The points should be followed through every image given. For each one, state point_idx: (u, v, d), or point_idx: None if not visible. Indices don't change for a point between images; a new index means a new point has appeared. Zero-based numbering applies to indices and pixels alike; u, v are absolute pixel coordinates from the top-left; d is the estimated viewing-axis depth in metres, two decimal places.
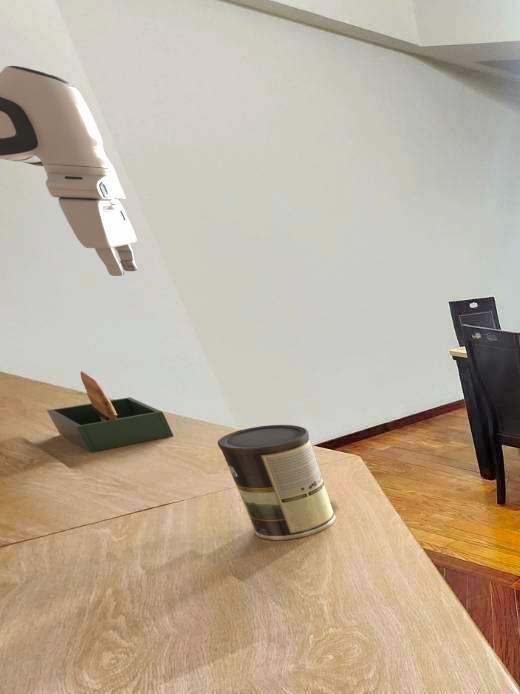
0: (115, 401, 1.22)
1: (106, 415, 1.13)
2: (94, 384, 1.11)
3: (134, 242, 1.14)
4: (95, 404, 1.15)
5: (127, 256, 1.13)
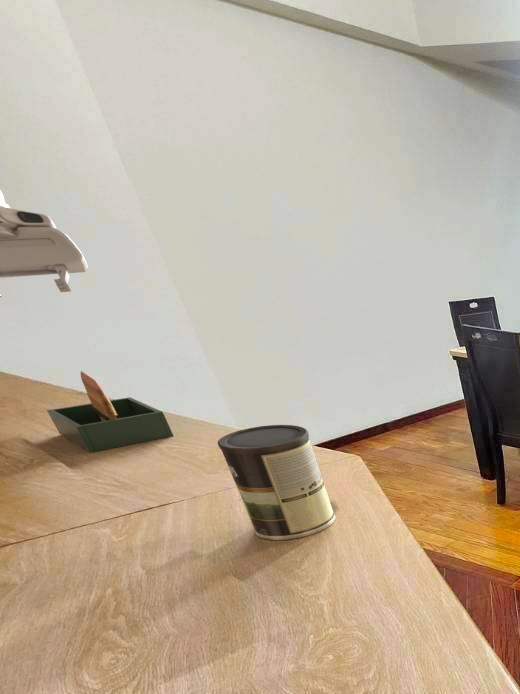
0: (115, 401, 1.22)
1: (106, 415, 1.13)
2: (94, 384, 1.11)
3: None
4: (95, 404, 1.15)
5: None
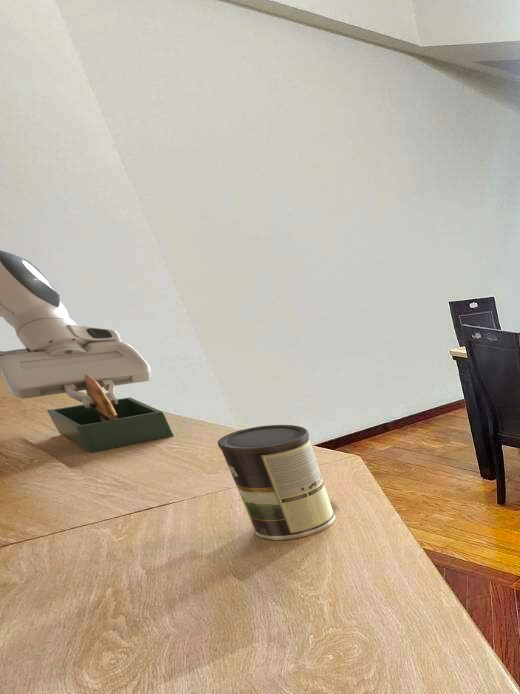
0: None
1: (106, 415, 1.13)
2: (94, 384, 1.11)
3: (37, 396, 1.11)
4: None
5: None
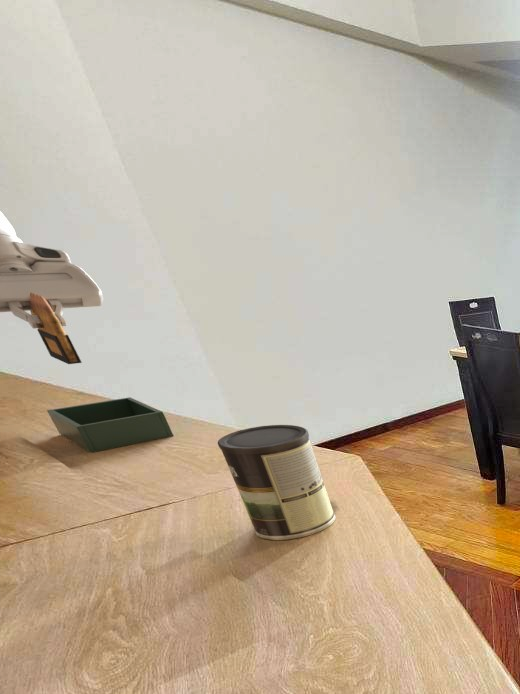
0: (115, 401, 1.22)
1: (55, 334, 1.10)
2: (41, 301, 1.07)
3: None
4: None
5: None
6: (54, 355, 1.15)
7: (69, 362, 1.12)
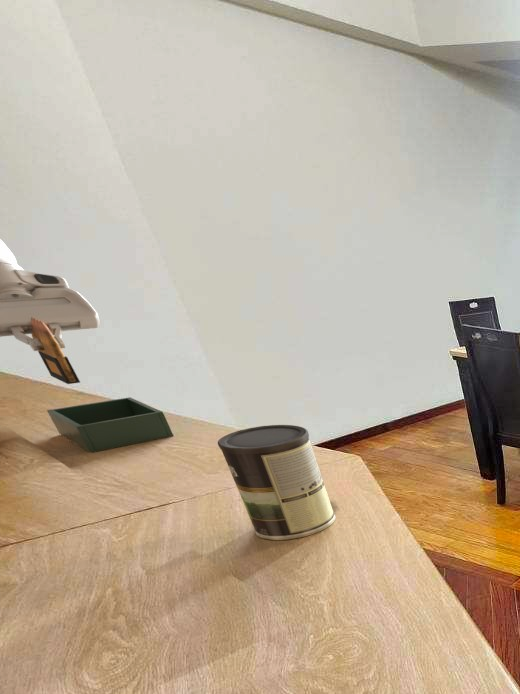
0: (115, 401, 1.22)
1: (54, 357, 1.17)
2: (41, 325, 1.15)
3: None
4: None
5: None
6: (54, 375, 1.22)
7: (68, 382, 1.19)
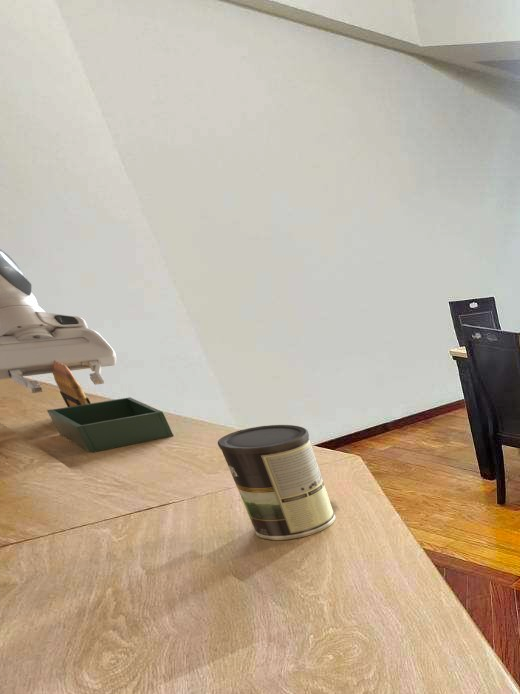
0: (115, 401, 1.22)
1: (76, 398, 1.21)
2: (64, 369, 1.19)
3: None
4: (64, 388, 1.23)
5: None
6: None
7: None
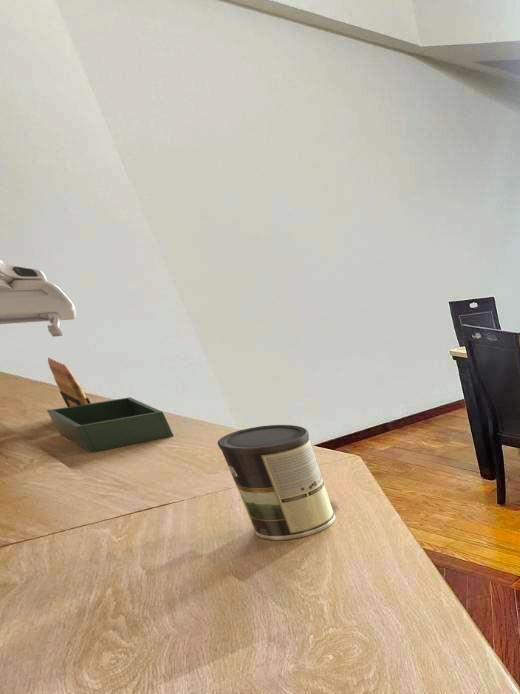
0: (115, 401, 1.22)
1: (76, 398, 1.21)
2: (64, 369, 1.19)
3: None
4: (64, 388, 1.23)
5: None
6: None
7: None
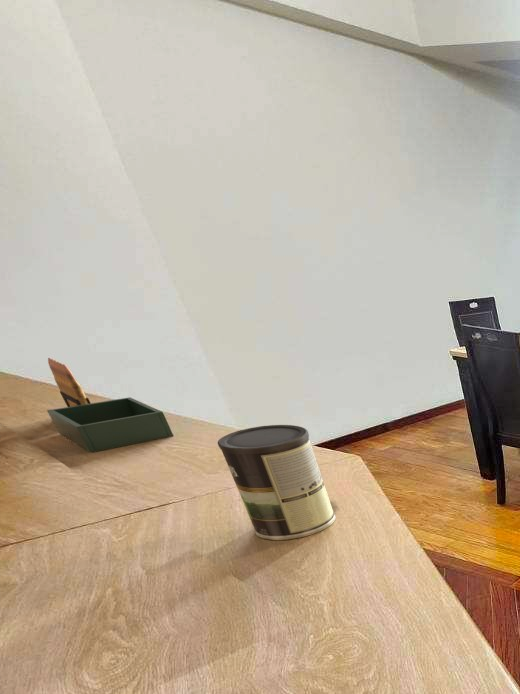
0: (115, 401, 1.22)
1: (76, 398, 1.21)
2: (64, 369, 1.19)
3: None
4: (64, 388, 1.23)
5: None
6: None
7: None
